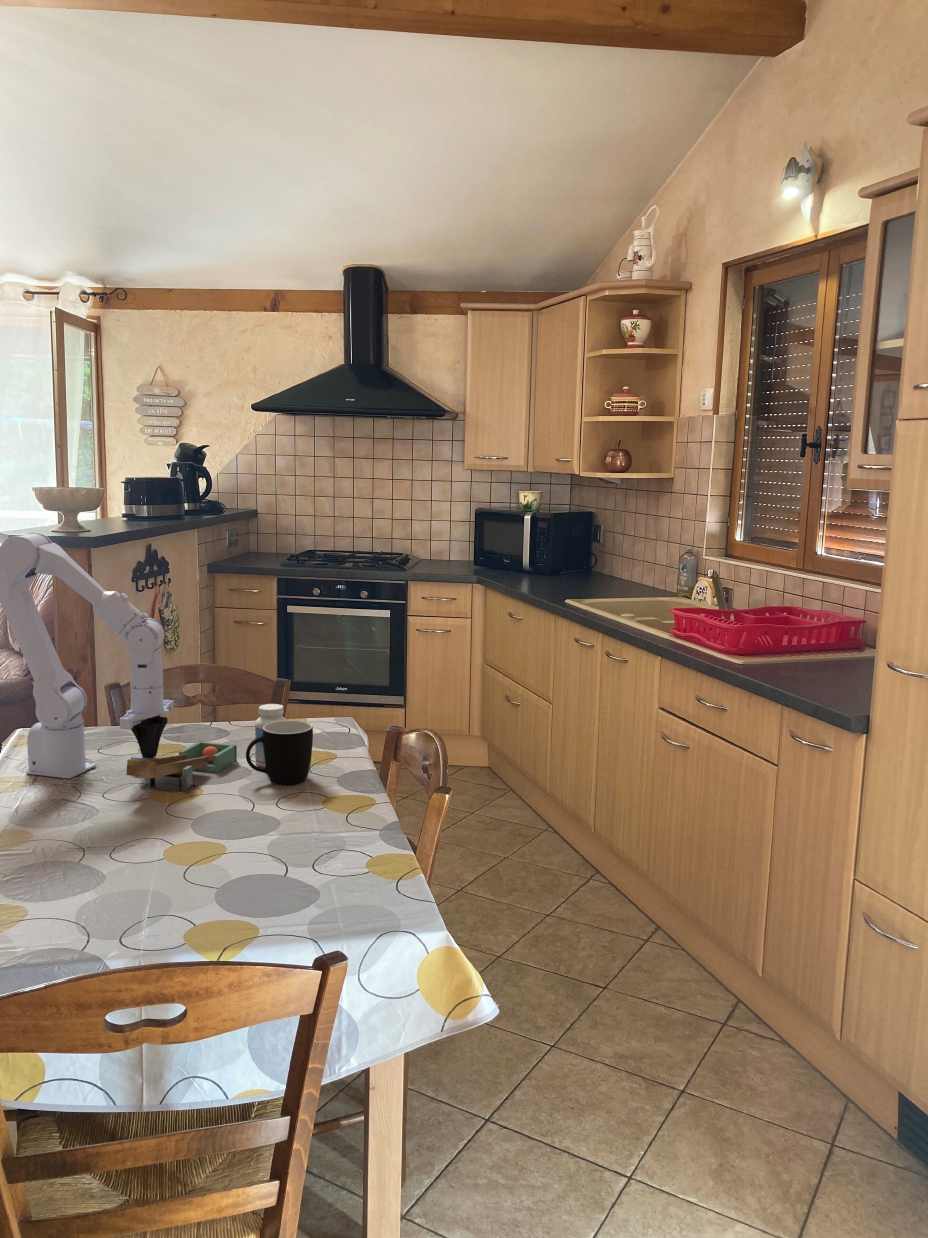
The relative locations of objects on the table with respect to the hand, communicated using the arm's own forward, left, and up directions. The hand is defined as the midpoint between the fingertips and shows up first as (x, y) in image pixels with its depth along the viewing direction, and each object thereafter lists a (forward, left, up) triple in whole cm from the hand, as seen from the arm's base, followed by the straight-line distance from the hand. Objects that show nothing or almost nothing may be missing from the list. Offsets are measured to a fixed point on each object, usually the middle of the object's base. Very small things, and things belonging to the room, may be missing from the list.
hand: (149, 757), depth 175 cm
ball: (+8, +7, -1) cm, 11 cm away
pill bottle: (+19, +11, -3) cm, 23 cm away
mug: (+25, +2, -3) cm, 26 cm away
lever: (+5, -7, 0) cm, 8 cm away
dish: (+8, +6, -3) cm, 11 cm away
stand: (+8, -7, -3) cm, 11 cm away
